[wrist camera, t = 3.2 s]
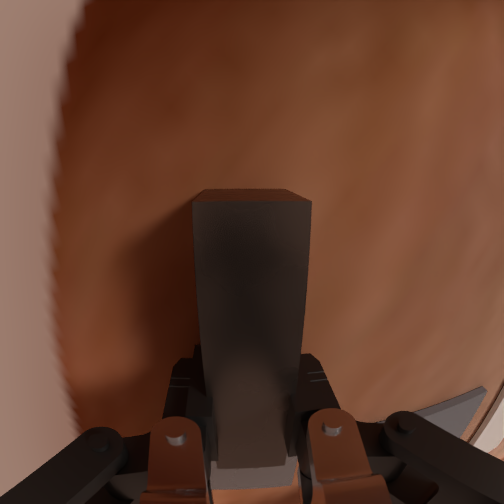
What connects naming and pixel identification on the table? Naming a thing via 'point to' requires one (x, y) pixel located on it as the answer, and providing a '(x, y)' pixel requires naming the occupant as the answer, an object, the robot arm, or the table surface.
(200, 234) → the grey post on base
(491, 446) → the rest pad
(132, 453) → the robot arm
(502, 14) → the table surface
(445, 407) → the mat
